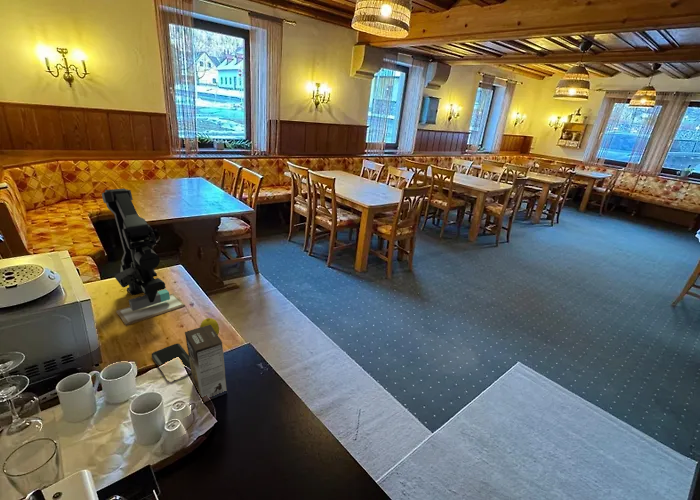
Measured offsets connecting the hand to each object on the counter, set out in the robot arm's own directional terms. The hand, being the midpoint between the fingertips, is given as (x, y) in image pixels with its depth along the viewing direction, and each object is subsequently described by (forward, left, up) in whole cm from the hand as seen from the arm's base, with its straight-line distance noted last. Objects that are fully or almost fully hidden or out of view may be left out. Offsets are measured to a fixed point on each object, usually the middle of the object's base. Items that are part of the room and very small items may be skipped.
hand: (150, 300), depth 121 cm
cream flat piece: (0, 0, -4) cm, 4 cm away
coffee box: (+50, -2, -4) cm, 50 cm away
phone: (+34, -5, -4) cm, 35 cm away
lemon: (+31, +7, -4) cm, 32 cm away
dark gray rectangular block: (0, 0, -1) cm, 1 cm away
